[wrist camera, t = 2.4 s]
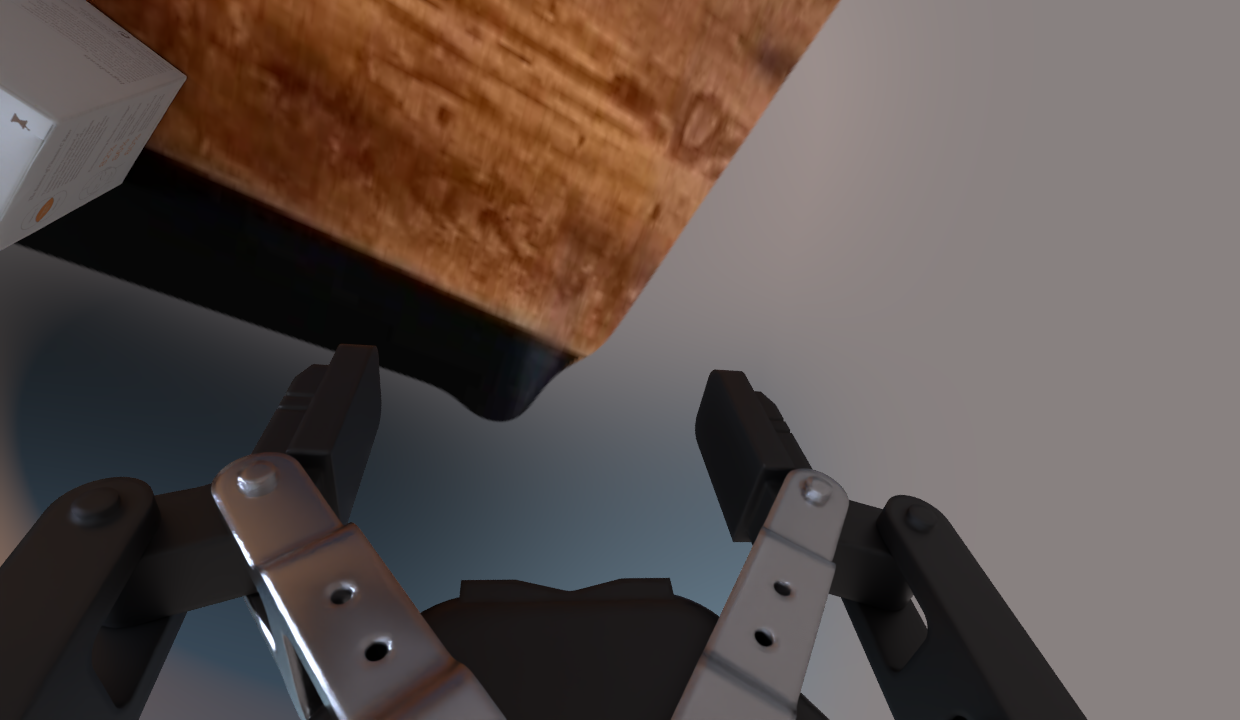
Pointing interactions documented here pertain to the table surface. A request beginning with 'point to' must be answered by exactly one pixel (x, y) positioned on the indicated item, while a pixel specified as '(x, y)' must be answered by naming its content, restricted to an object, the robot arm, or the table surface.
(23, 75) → the small box
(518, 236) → the table surface
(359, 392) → the robot arm
